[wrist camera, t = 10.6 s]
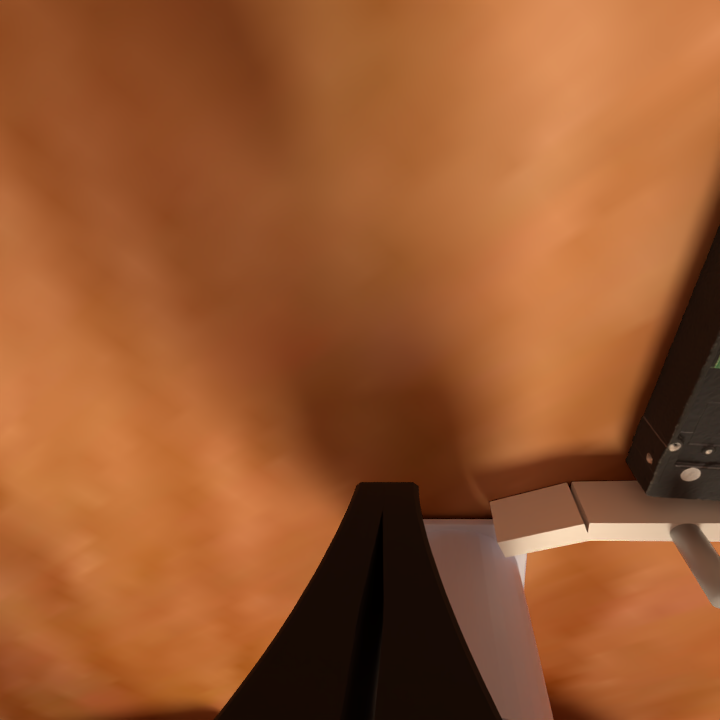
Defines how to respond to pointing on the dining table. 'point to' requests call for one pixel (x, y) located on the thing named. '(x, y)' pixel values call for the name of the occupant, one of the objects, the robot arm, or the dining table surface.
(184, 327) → the dining table surface
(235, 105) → the dining table surface
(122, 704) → the dining table surface
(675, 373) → the disk drive
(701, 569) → the drive tray
